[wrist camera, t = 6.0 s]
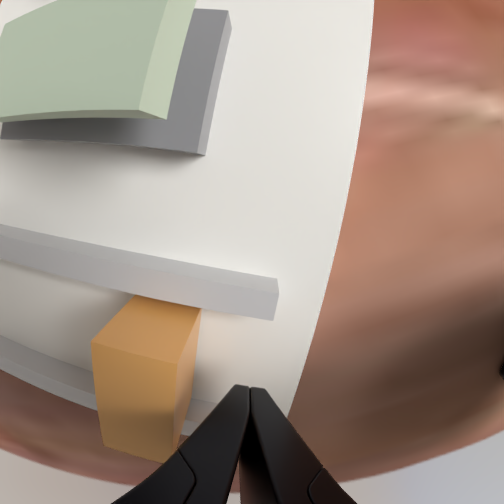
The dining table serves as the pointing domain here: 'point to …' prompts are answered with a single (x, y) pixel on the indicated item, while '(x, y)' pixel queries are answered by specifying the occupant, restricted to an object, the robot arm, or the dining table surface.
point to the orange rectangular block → (145, 376)
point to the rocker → (92, 59)
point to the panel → (190, 202)
